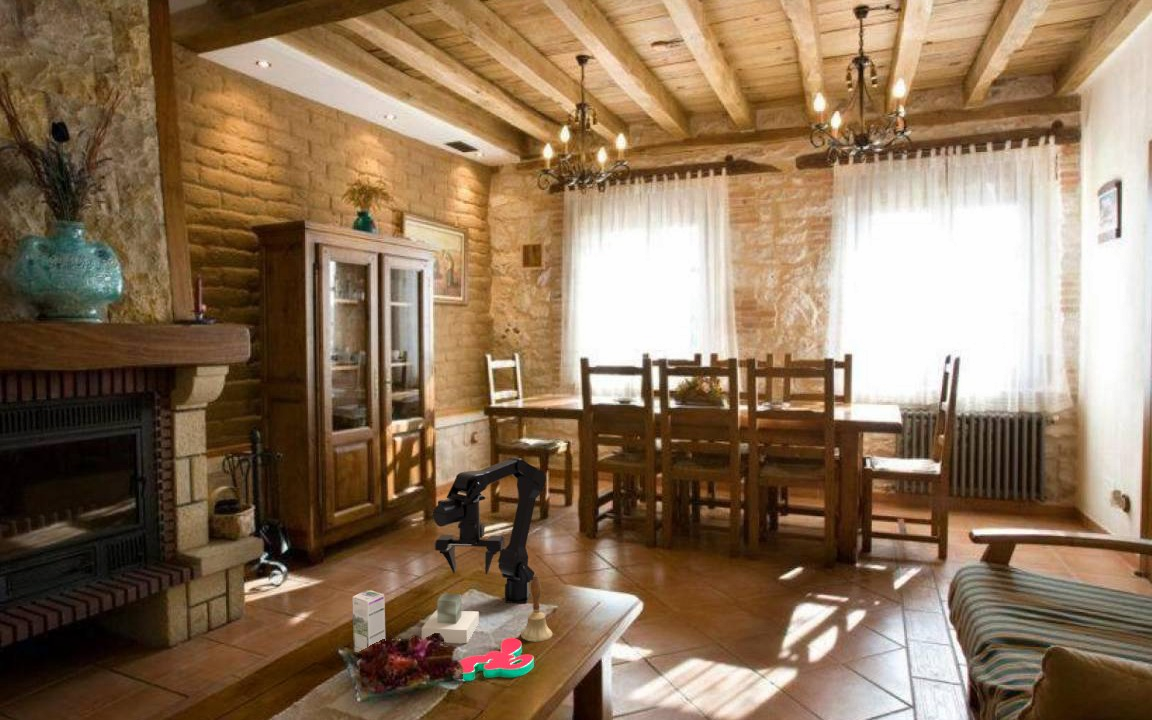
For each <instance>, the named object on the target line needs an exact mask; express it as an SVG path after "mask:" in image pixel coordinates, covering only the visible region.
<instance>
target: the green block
mask: <svg viewBox="0 0 1152 720" xmlns="http://www.w3.org/2000/svg"><path fill="white" fill-rule="evenodd" d="M436 610H437V621H438V623H451V624H456V623H457V622H458V620H459V619H460V617H461V611H462V594H461V593H447V592H446V593H445V592H444V593H442V594H441V595H440V597H438V599H437V609H436Z"/></svg>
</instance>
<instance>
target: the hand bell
mask: <svg viewBox="0 0 1152 720" xmlns="http://www.w3.org/2000/svg"><path fill="white" fill-rule="evenodd" d="M541 586H542V585H541V582H540V578H539V575H537V574H534V576H533V580H531V583H530V591H531V593H530V594H531V596H532V600H533V602H532V605H533V606H532V608H533V609H532V610H533V611H532V612H530V613H529V614H528V616H527V623H526V626H525V628H524V629H523V630H522V632H521V634H520V636H521V637H520V638H522V639H523V640H524V639H525V640H524V641H527V642H530V641H531V642H532V643H533V642H534V643H539V642H545V641H547V640H550V639H551V638H552V637H553V631H552V630H551V629H550V628H549V627H548V625H547V621H546V614H545V613H544V612H542V611H541V608H540V596H541V591H542V587H541Z"/></svg>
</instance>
